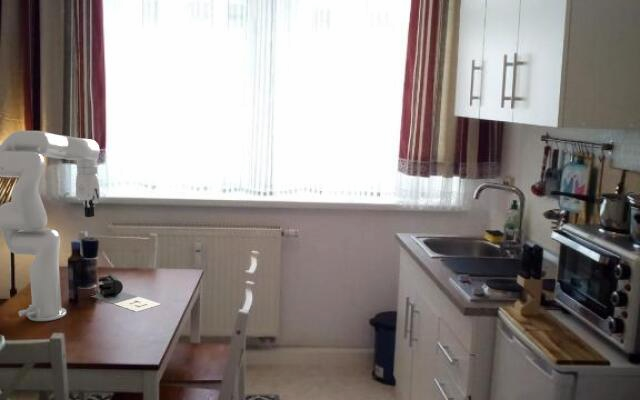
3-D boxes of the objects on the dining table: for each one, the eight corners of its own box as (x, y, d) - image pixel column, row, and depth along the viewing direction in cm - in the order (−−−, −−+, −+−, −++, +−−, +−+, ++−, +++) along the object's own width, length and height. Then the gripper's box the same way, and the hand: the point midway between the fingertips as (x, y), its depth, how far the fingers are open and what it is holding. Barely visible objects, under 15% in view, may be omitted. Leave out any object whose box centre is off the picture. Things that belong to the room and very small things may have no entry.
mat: (113, 304, 249) (113, 303, 249) (89, 295, 259) (89, 295, 259) (138, 297, 258) (138, 296, 258) (113, 289, 267) (113, 289, 267)
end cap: (123, 295, 259) (122, 279, 257) (104, 298, 255) (103, 281, 254) (116, 289, 267) (116, 272, 266) (98, 291, 263) (97, 275, 262)
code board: (136, 311, 240) (136, 311, 240) (113, 304, 249) (113, 303, 249) (161, 304, 249) (161, 304, 249) (138, 297, 258) (138, 296, 258)
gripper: (68, 170, 264) (70, 215, 267) (89, 173, 255) (92, 220, 258) (85, 168, 270) (87, 213, 273) (106, 171, 261) (108, 217, 264)
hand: (89, 216), depth 265 cm, fingers closed
